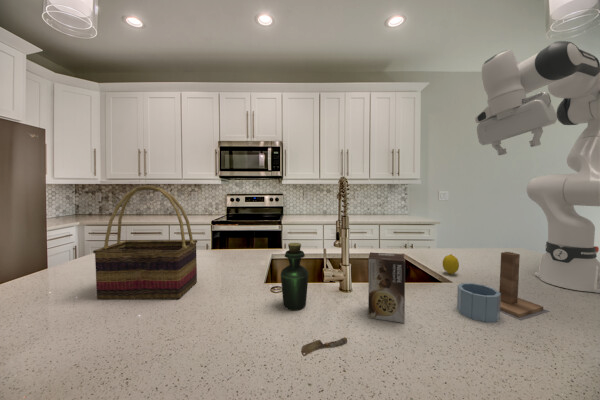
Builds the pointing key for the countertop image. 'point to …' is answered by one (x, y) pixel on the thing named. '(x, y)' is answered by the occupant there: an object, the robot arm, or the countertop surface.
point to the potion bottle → (294, 279)
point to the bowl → (478, 302)
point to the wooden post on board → (513, 288)
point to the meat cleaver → (321, 345)
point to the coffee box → (386, 287)
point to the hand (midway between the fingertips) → (518, 150)
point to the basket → (146, 262)
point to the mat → (527, 315)
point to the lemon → (450, 264)
